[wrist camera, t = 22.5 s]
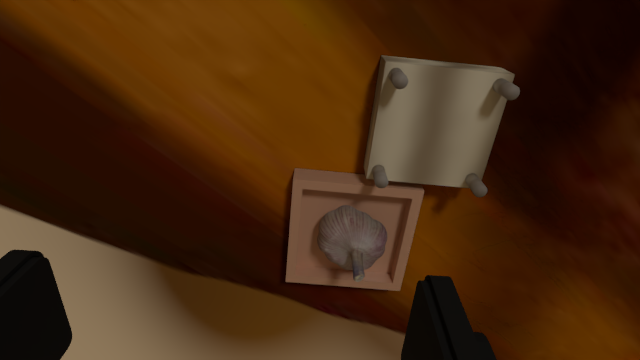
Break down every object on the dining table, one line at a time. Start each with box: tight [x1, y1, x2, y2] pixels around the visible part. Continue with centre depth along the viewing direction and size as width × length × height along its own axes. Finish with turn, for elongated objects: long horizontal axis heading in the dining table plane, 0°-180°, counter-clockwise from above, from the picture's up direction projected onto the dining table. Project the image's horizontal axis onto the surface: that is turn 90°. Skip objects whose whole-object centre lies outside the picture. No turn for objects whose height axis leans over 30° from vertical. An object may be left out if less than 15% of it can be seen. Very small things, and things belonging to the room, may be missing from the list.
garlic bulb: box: [317, 205, 387, 282], centre depth 40 cm, size 8×7×8 cm
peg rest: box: [364, 55, 520, 197], centre depth 36 cm, size 11×11×6 cm
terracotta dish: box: [286, 168, 424, 291], centre depth 43 cm, size 13×13×2 cm
